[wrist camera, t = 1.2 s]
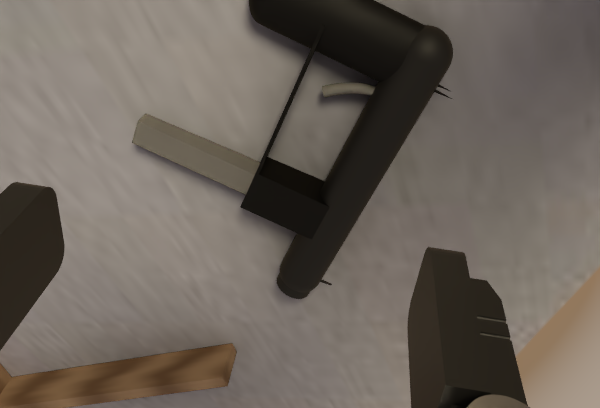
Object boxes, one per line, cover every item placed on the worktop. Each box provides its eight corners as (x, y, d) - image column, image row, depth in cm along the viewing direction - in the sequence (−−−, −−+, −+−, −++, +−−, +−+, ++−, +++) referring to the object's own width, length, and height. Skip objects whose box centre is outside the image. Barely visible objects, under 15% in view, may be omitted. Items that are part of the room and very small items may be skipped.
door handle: (106, 218, 39) (322, 314, 40) (192, -86, 28) (484, 59, 29) (127, 193, 41) (328, 284, 43) (212, -92, 31) (478, 40, 32)
